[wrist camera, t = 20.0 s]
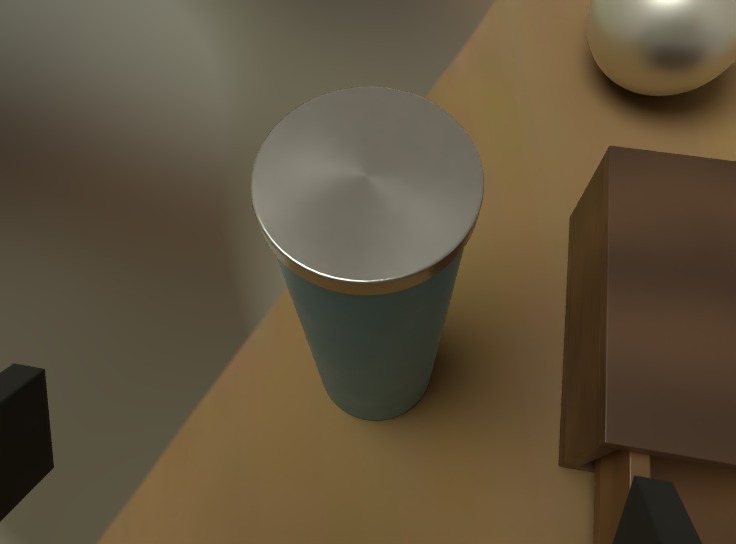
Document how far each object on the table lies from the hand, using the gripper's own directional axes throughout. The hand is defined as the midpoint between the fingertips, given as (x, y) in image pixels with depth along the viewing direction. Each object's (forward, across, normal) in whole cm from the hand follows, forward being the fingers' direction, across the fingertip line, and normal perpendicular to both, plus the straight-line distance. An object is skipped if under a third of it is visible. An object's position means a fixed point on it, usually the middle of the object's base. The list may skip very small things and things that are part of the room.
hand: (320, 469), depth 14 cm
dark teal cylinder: (+16, 0, -6) cm, 17 cm away
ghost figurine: (+32, +13, +9) cm, 36 cm away
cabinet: (+19, +15, -4) cm, 24 cm away
